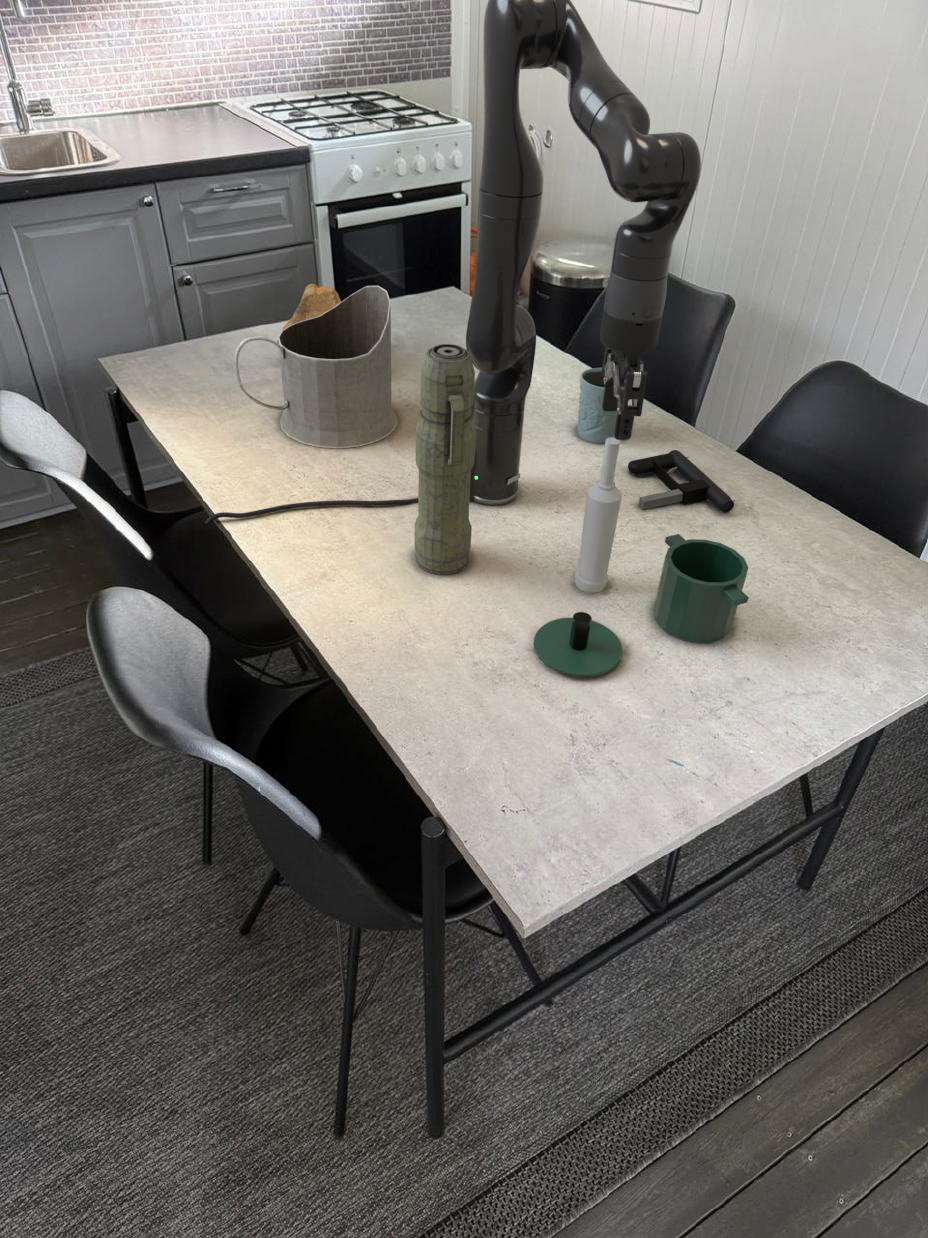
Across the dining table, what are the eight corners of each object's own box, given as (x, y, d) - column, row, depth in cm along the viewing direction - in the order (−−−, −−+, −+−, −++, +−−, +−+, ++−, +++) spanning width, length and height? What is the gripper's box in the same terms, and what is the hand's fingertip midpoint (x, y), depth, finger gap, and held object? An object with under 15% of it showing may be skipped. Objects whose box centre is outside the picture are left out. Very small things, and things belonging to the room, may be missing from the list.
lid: (559, 689, 124) (564, 655, 120) (518, 634, 133) (521, 601, 129) (638, 667, 128) (645, 633, 124) (592, 615, 137) (598, 582, 133)
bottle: (611, 579, 144) (635, 437, 129) (600, 597, 141) (625, 452, 125) (580, 571, 146) (601, 429, 130) (569, 588, 142) (589, 444, 127)
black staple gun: (661, 515, 156) (742, 497, 160) (608, 460, 170) (683, 444, 174) (658, 531, 158) (739, 512, 162) (606, 475, 172) (681, 460, 176)
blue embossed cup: (567, 438, 181) (574, 381, 174) (581, 418, 189) (588, 362, 181) (616, 449, 179) (625, 392, 171) (629, 428, 186) (638, 372, 179)
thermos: (431, 585, 141) (435, 371, 119) (403, 545, 149) (402, 338, 128) (482, 573, 144) (496, 362, 122) (452, 535, 153) (460, 331, 131)
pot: (693, 662, 129) (708, 604, 123) (629, 595, 141) (640, 538, 135) (758, 643, 133) (777, 585, 127) (691, 579, 145) (704, 523, 139)
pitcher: (417, 431, 181) (418, 306, 165) (268, 469, 167) (254, 336, 152) (363, 387, 196) (360, 269, 180) (222, 418, 182) (205, 293, 167)
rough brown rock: (270, 351, 211) (258, 288, 201) (338, 337, 216) (331, 274, 206) (297, 396, 195) (286, 329, 185) (370, 379, 200) (363, 314, 190)
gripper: (594, 288, 121) (580, 401, 131) (616, 328, 110) (598, 448, 120) (649, 289, 122) (631, 401, 132) (676, 329, 111) (654, 448, 121)
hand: (615, 424), depth 126 cm, fingers open, 8 cm apart
